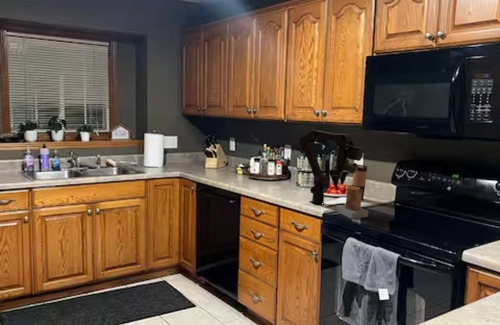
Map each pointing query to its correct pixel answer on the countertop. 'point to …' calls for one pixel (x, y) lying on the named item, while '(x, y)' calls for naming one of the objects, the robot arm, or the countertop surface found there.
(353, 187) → the cargo block
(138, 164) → the countertop surface
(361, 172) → the travel mug
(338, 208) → the dock
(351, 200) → the brown cylinder
